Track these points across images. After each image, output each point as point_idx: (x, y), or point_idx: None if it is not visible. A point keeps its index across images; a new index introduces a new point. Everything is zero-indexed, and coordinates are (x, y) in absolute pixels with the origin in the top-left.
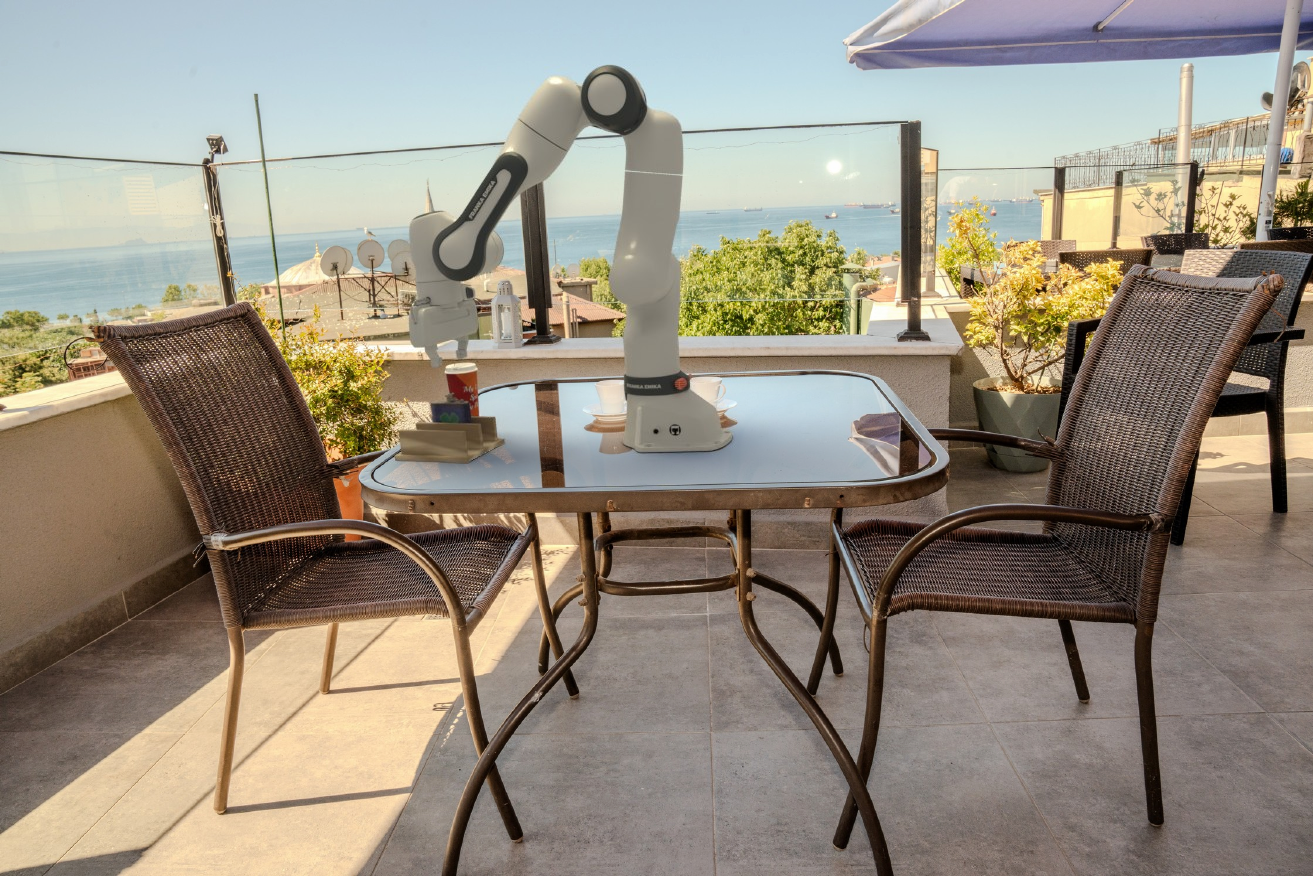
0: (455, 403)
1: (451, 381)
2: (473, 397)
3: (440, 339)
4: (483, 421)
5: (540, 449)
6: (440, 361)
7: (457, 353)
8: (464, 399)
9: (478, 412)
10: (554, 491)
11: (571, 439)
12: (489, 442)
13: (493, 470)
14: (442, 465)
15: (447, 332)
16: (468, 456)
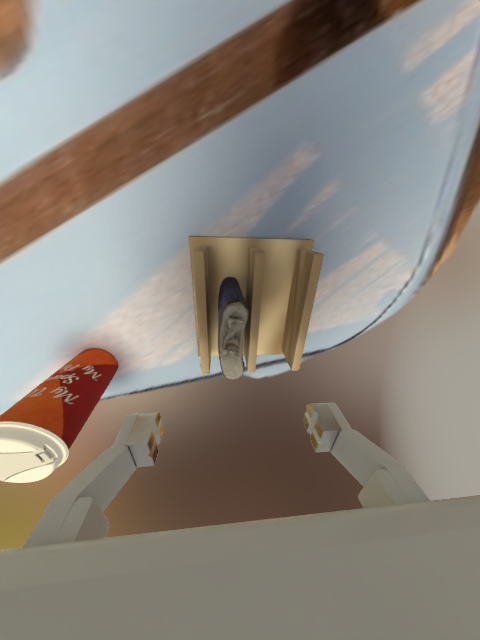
0: (244, 327)
1: (76, 432)
2: (68, 378)
3: (424, 535)
4: (205, 274)
5: (219, 123)
6: (328, 416)
7: (156, 447)
8: (88, 385)
9: (76, 358)
10: None
11: (124, 64)
12: (218, 252)
13: (355, 164)
14: None
15: (348, 613)
16: (303, 244)
